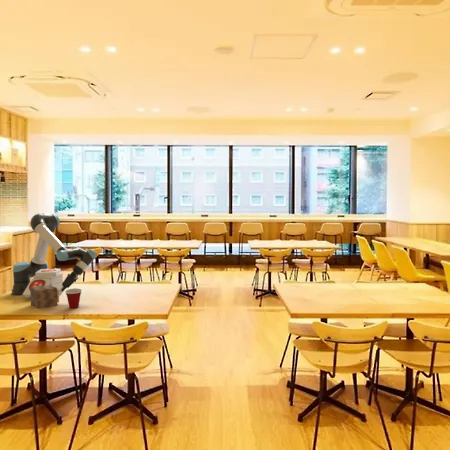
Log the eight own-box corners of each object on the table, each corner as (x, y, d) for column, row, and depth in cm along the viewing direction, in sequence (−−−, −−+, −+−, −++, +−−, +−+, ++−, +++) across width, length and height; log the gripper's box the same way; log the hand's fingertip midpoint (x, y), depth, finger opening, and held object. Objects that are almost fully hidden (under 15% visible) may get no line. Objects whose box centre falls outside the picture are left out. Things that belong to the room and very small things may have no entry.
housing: (49, 301, 314) (49, 284, 313) (57, 305, 304) (56, 287, 303) (31, 305, 305) (30, 287, 304) (38, 308, 295) (37, 290, 294)
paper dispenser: (20, 299, 321) (19, 275, 319) (45, 290, 350) (44, 268, 348) (43, 300, 316) (42, 276, 315) (67, 291, 346) (66, 268, 344)
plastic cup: (64, 310, 291) (63, 292, 290) (66, 306, 302) (66, 288, 301) (81, 309, 293) (80, 291, 292) (83, 305, 304) (82, 288, 303)
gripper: (87, 272, 318) (65, 299, 308) (79, 270, 327) (58, 295, 317) (80, 265, 314) (57, 292, 304) (72, 263, 323) (50, 289, 313)
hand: (58, 294), depth 310 cm, fingers closed
